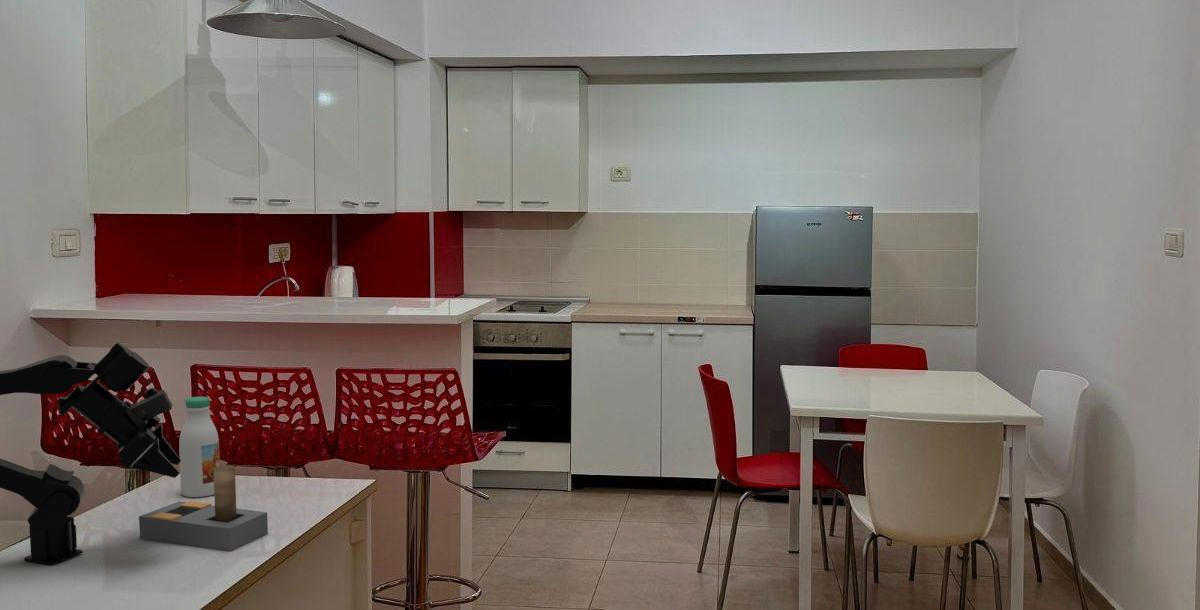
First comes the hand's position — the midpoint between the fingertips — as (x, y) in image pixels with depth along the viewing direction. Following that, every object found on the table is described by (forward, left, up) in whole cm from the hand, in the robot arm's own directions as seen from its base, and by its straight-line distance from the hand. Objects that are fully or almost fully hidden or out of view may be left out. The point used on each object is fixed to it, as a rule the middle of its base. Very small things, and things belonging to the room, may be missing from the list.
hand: (178, 469), depth 180 cm
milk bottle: (+27, +19, -14) cm, 36 cm away
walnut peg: (+5, -6, -14) cm, 15 cm away
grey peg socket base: (+5, -1, -13) cm, 14 cm away
